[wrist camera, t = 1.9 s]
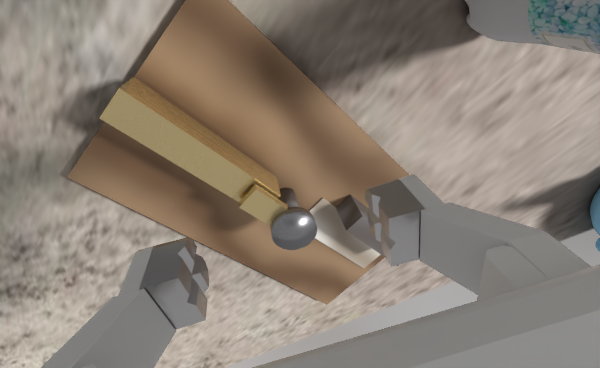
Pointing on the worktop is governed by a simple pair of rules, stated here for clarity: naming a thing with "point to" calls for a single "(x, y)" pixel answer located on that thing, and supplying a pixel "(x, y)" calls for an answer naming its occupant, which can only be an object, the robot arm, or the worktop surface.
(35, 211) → the worktop surface
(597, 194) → the teapot
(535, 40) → the bottle
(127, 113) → the swing bar
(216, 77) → the latch board
